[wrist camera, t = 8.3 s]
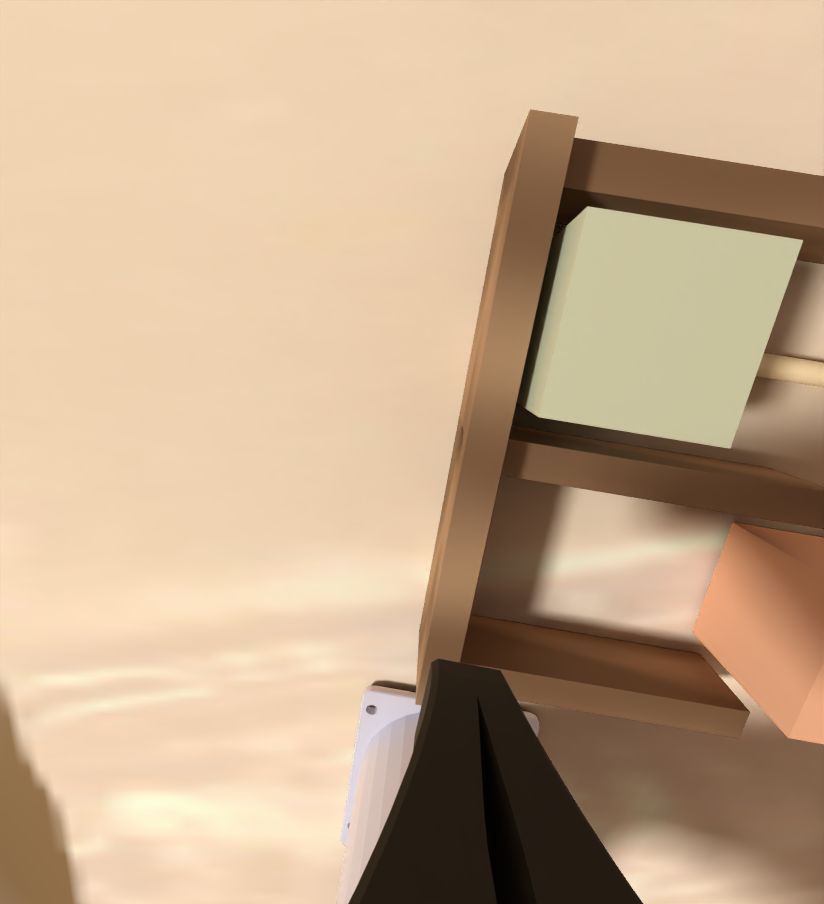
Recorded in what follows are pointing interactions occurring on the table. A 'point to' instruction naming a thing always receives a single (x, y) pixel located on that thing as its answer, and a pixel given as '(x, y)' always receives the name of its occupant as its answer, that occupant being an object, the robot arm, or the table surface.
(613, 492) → the walnut lane rack
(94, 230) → the table surface
